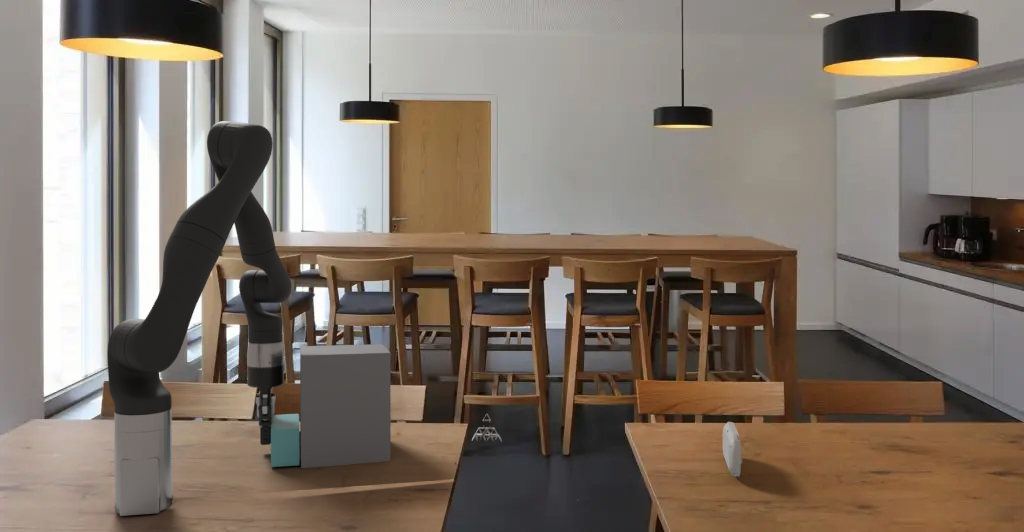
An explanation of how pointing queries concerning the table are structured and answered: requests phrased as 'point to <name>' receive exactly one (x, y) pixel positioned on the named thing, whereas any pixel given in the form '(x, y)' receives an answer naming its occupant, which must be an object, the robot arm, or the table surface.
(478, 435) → the house of cards
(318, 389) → the cubby
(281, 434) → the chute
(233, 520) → the table surface
